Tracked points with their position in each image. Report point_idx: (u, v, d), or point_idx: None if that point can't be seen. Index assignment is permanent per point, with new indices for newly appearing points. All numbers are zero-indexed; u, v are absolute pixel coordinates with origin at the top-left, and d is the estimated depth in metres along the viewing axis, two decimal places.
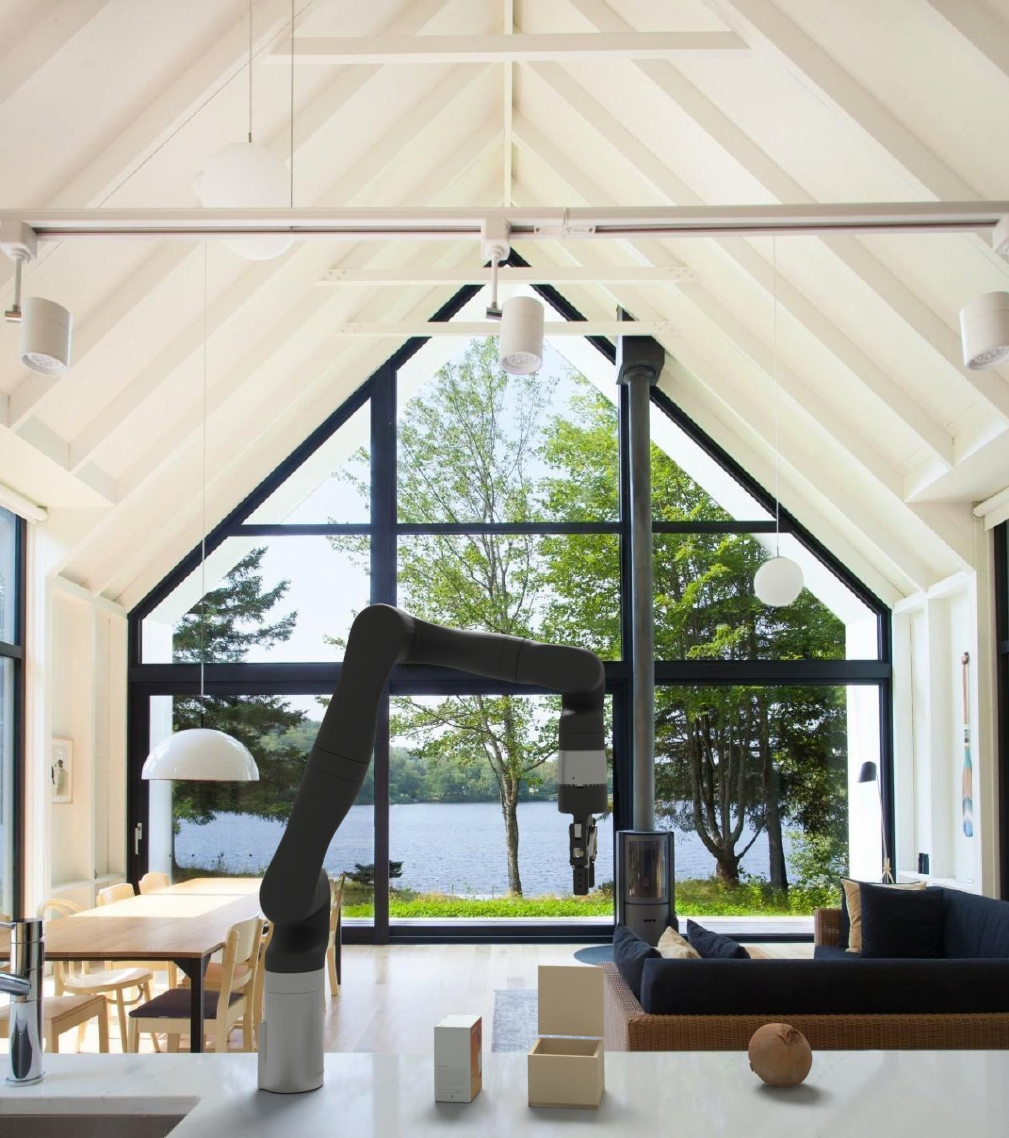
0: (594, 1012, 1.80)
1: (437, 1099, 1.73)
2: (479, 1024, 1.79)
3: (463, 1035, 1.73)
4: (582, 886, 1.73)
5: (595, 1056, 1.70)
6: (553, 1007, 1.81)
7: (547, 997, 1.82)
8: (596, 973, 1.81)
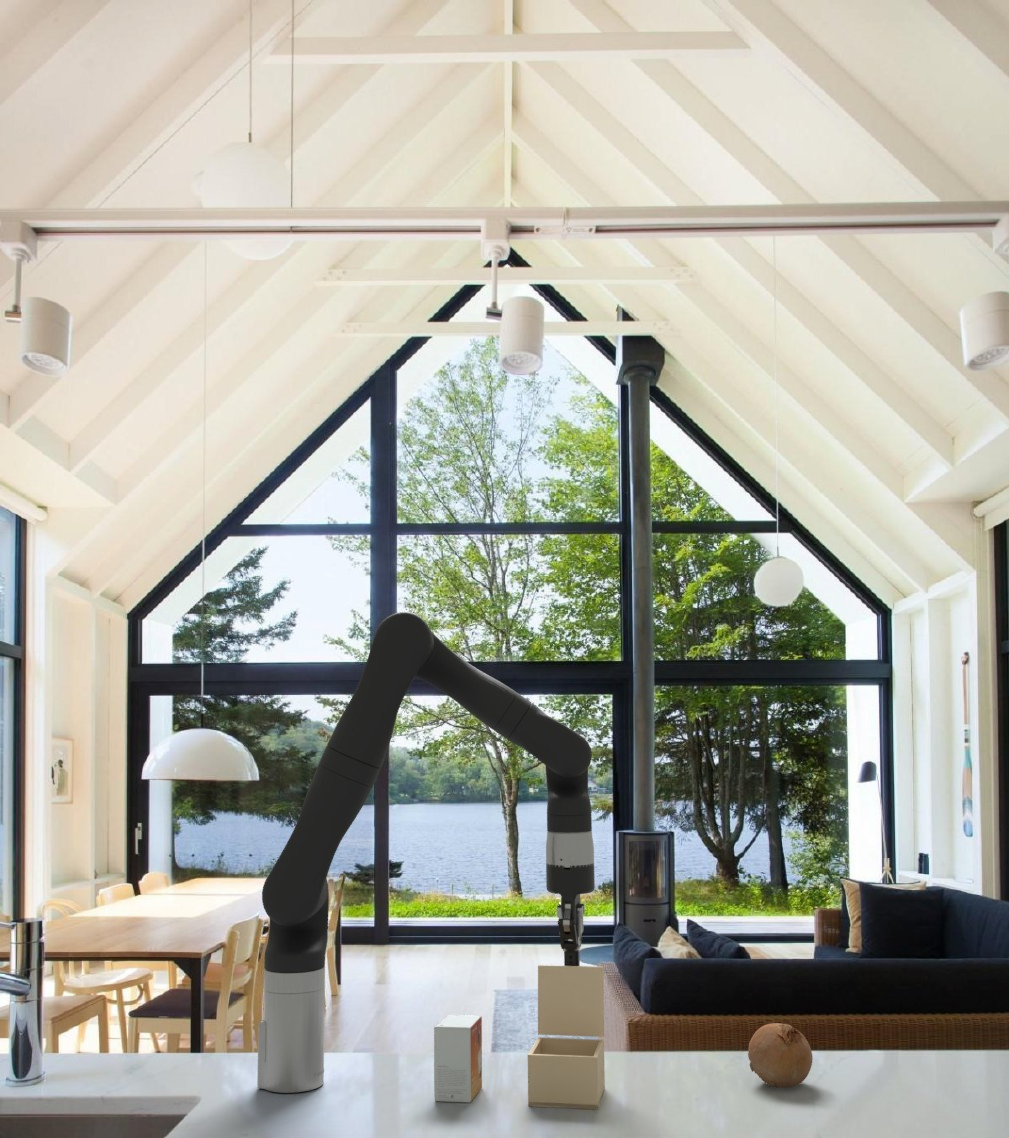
0: (594, 1012, 1.80)
1: (437, 1099, 1.73)
2: (479, 1024, 1.79)
3: (463, 1035, 1.73)
4: None
5: (595, 1056, 1.70)
6: (553, 1007, 1.81)
7: (547, 997, 1.82)
8: (596, 973, 1.81)
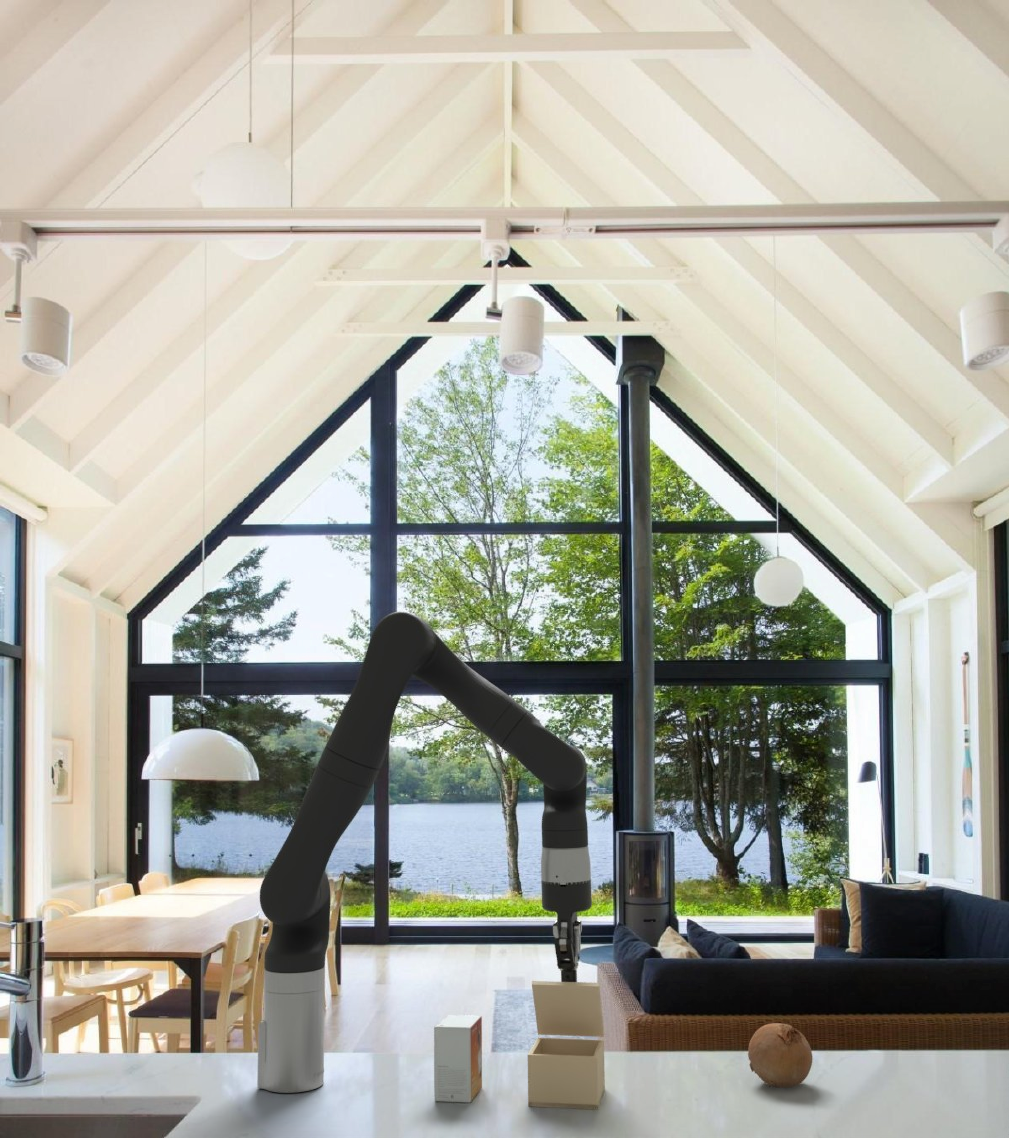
0: (592, 1019, 1.78)
1: (437, 1099, 1.73)
2: (479, 1024, 1.79)
3: (463, 1035, 1.73)
4: None
5: (595, 1056, 1.70)
6: (551, 1015, 1.79)
7: (544, 1008, 1.78)
8: (592, 991, 1.75)
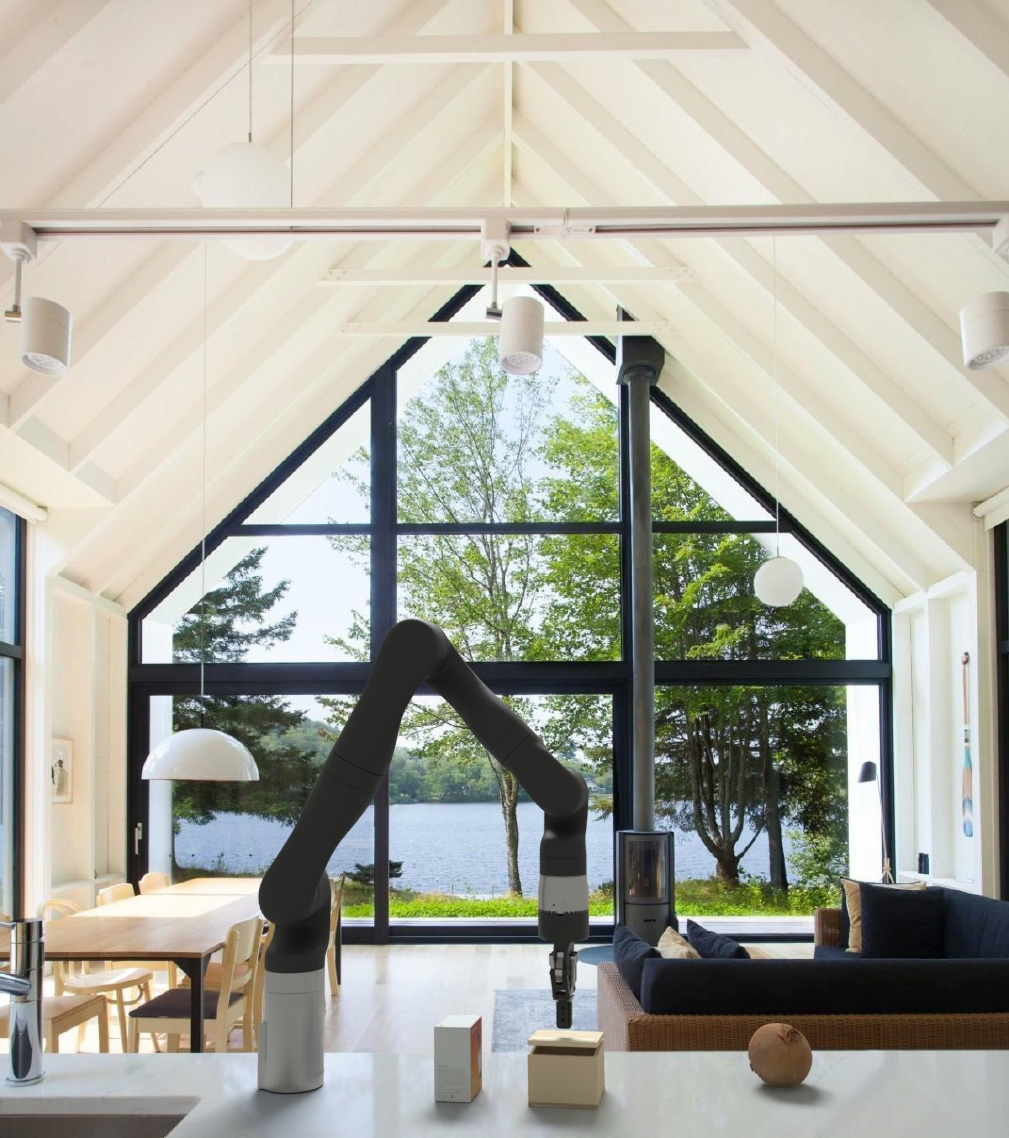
0: None
1: (437, 1099, 1.73)
2: (479, 1024, 1.79)
3: (463, 1035, 1.73)
4: (565, 1020, 1.73)
5: (595, 1056, 1.70)
6: None
7: None
8: None
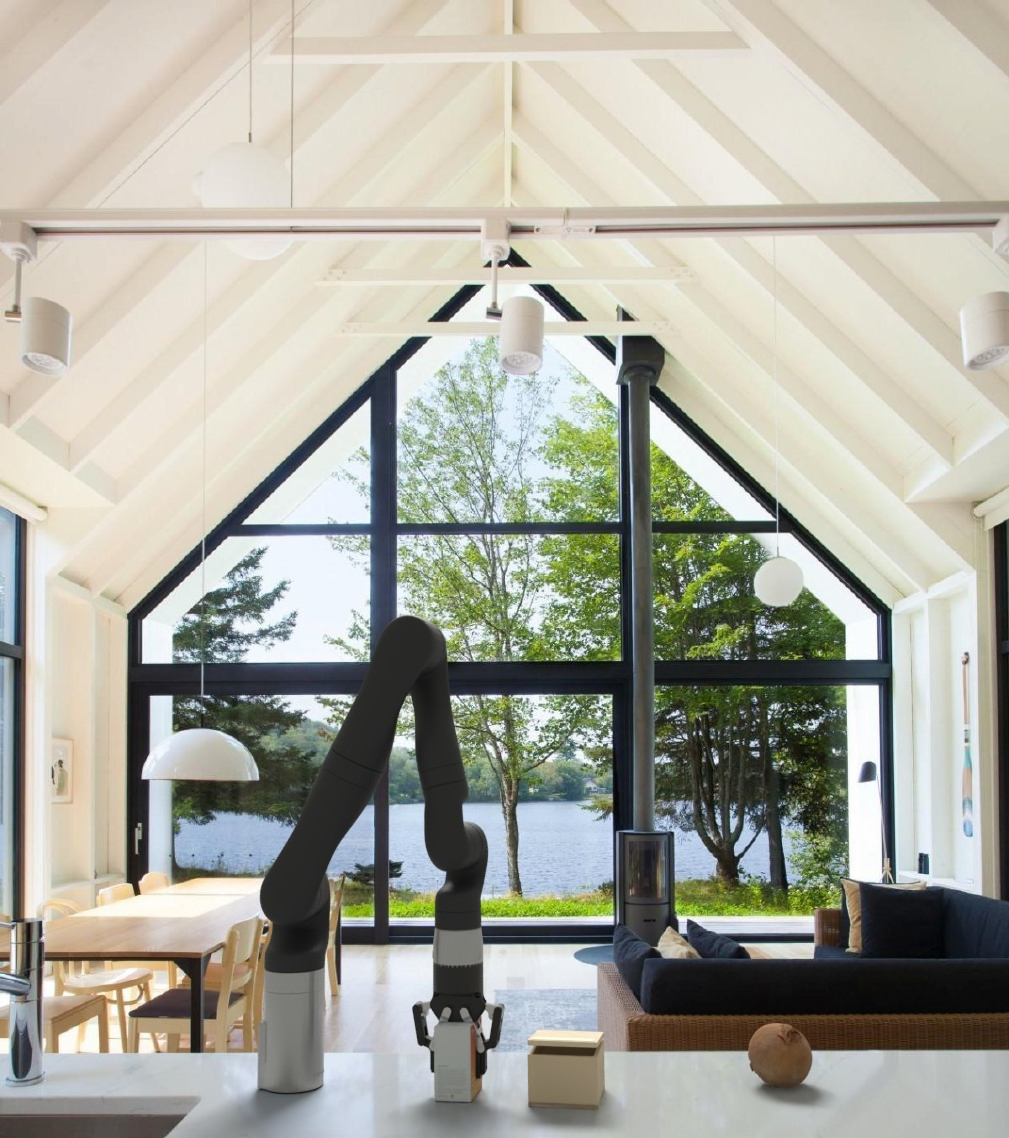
0: None
1: (437, 1099, 1.73)
2: None
3: (463, 1035, 1.73)
4: None
5: (595, 1056, 1.70)
6: None
7: None
8: None
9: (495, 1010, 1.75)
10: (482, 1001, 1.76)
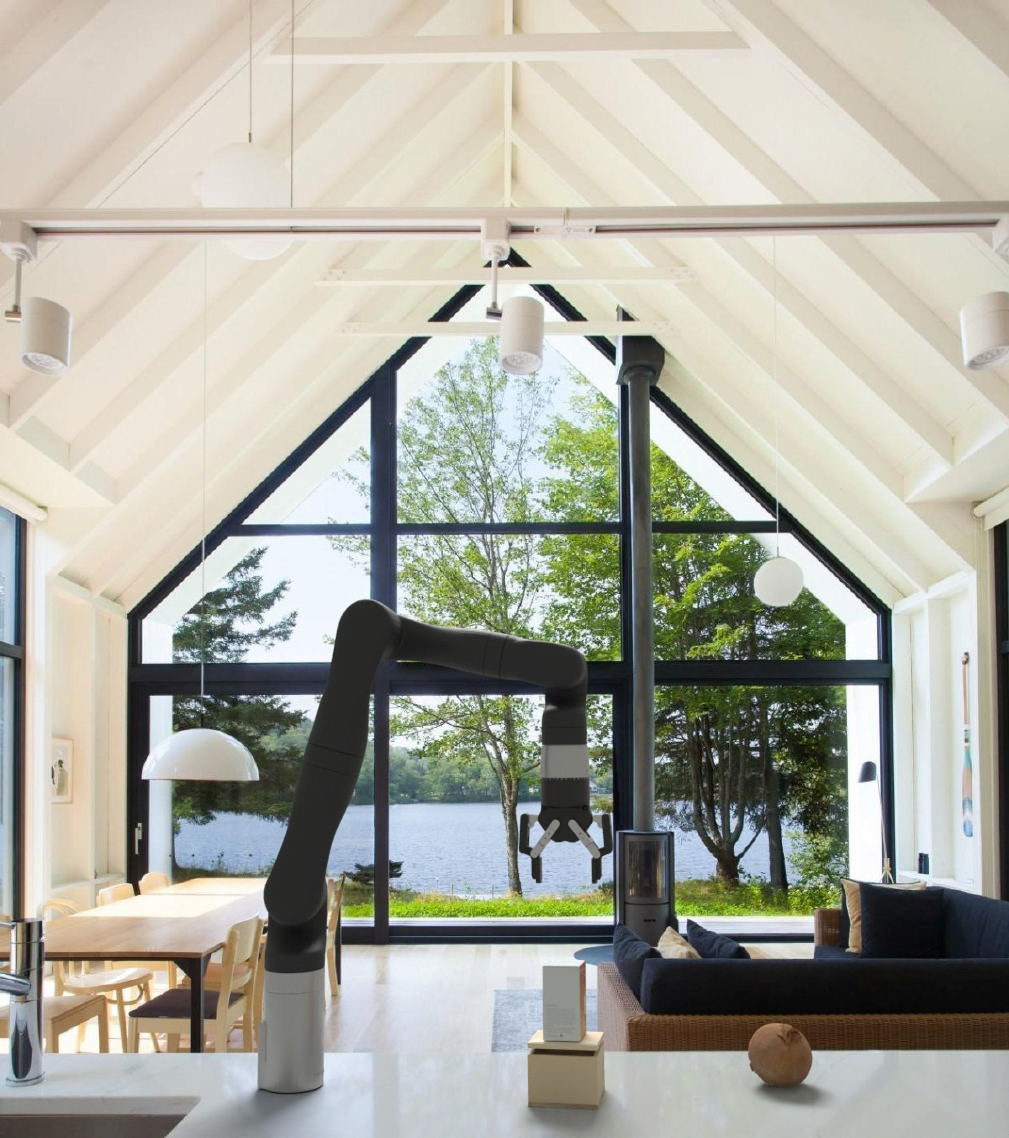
0: None
1: (546, 1038, 1.72)
2: (584, 967, 1.79)
3: (572, 974, 1.73)
4: None
5: (595, 1056, 1.70)
6: None
7: None
8: None
9: (603, 817, 1.80)
10: (588, 813, 1.81)
